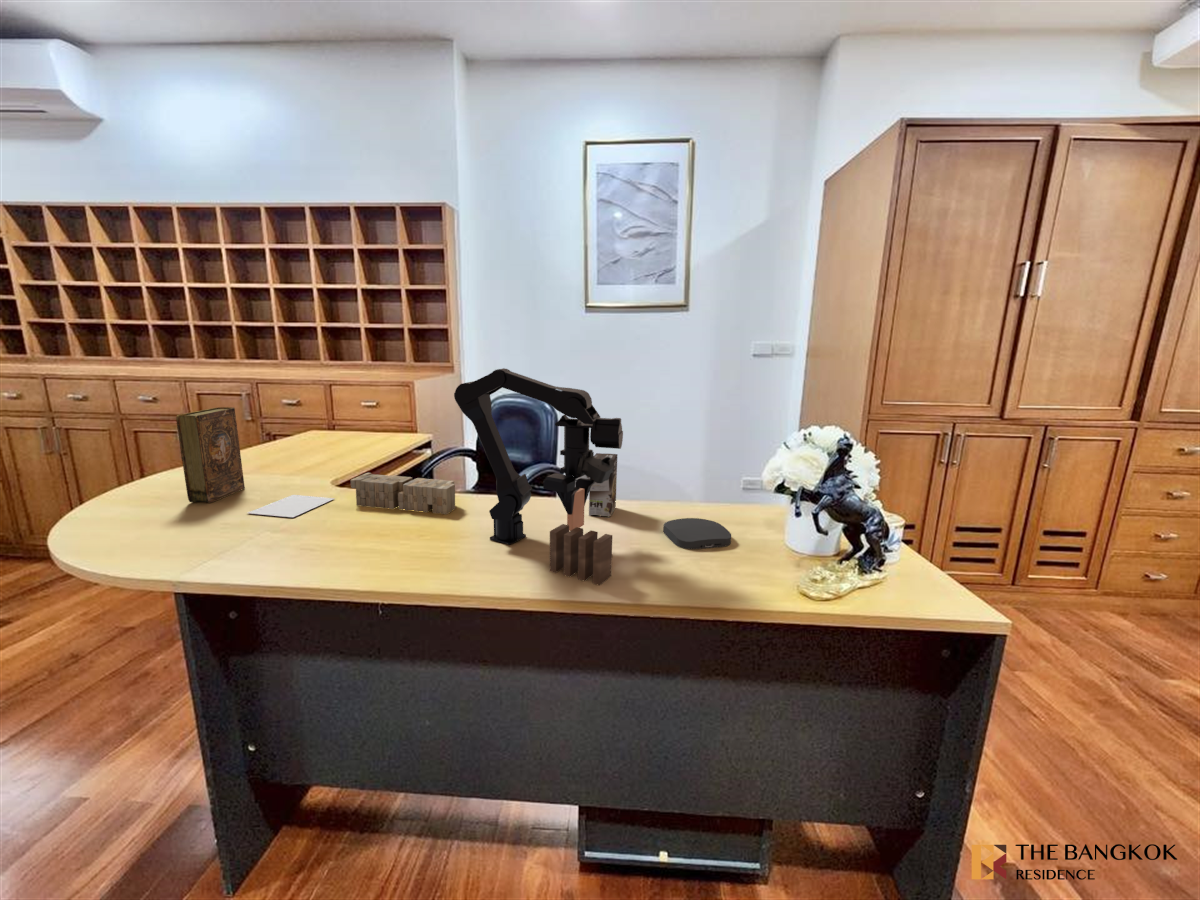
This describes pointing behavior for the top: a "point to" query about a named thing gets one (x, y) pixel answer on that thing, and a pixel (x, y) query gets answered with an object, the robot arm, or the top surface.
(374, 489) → the block tower
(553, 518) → the top surface
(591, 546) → the walnut domino
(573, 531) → the walnut domino
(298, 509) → the paper stack
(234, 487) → the book
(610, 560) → the walnut domino
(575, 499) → the terracotta domino
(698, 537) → the media streaming box
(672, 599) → the top surface
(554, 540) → the walnut domino
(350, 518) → the top surface
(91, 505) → the top surface
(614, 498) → the coffee box
